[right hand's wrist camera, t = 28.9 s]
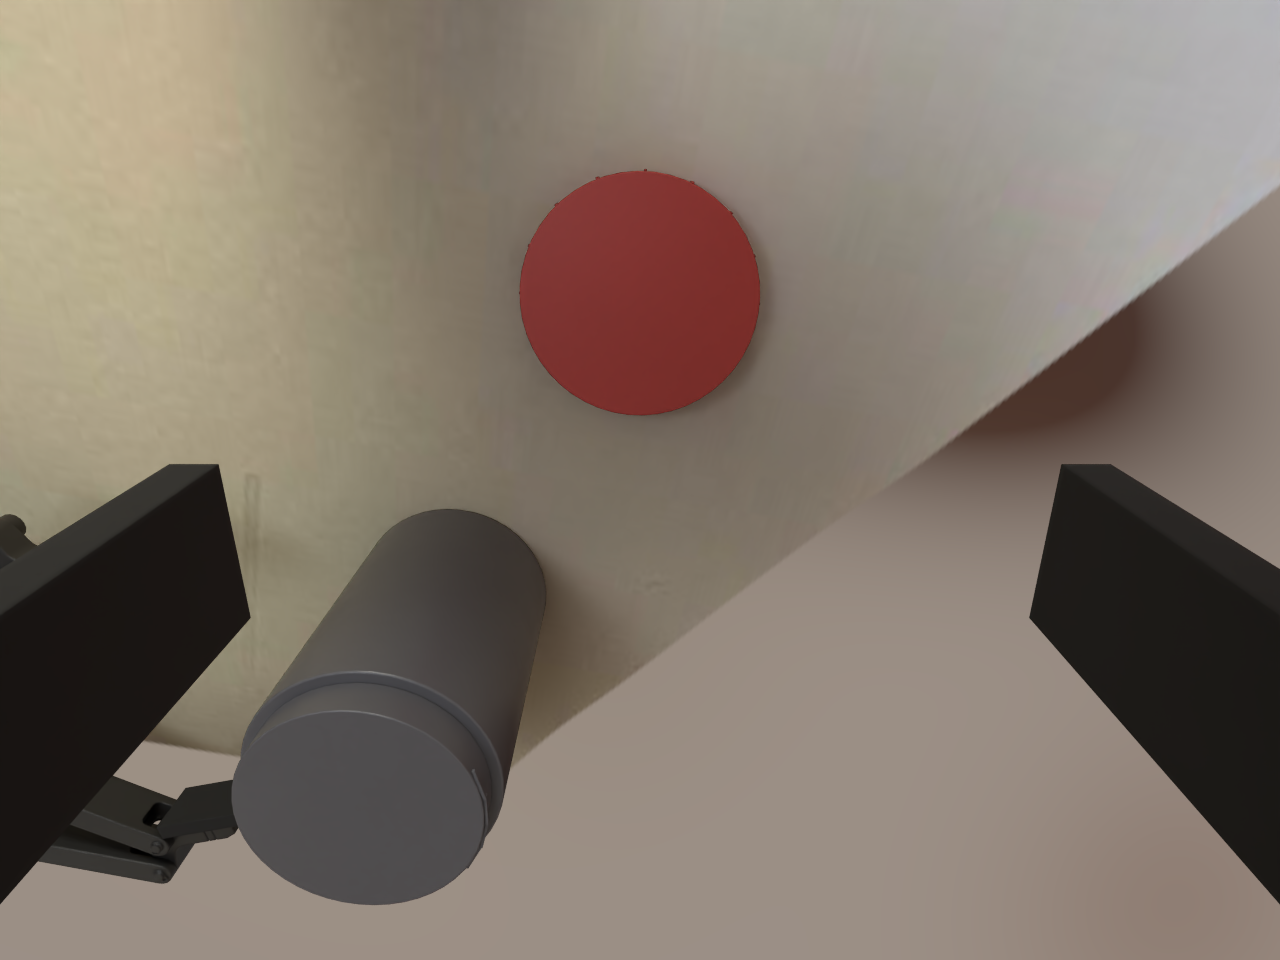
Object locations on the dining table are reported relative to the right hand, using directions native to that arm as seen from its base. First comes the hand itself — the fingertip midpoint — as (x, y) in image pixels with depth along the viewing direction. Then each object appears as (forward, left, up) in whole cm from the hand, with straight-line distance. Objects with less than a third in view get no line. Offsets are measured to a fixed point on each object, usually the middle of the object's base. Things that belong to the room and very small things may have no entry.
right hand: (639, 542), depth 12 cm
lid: (0, 0, -25) cm, 25 cm away
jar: (+4, -19, -27) cm, 33 cm away
